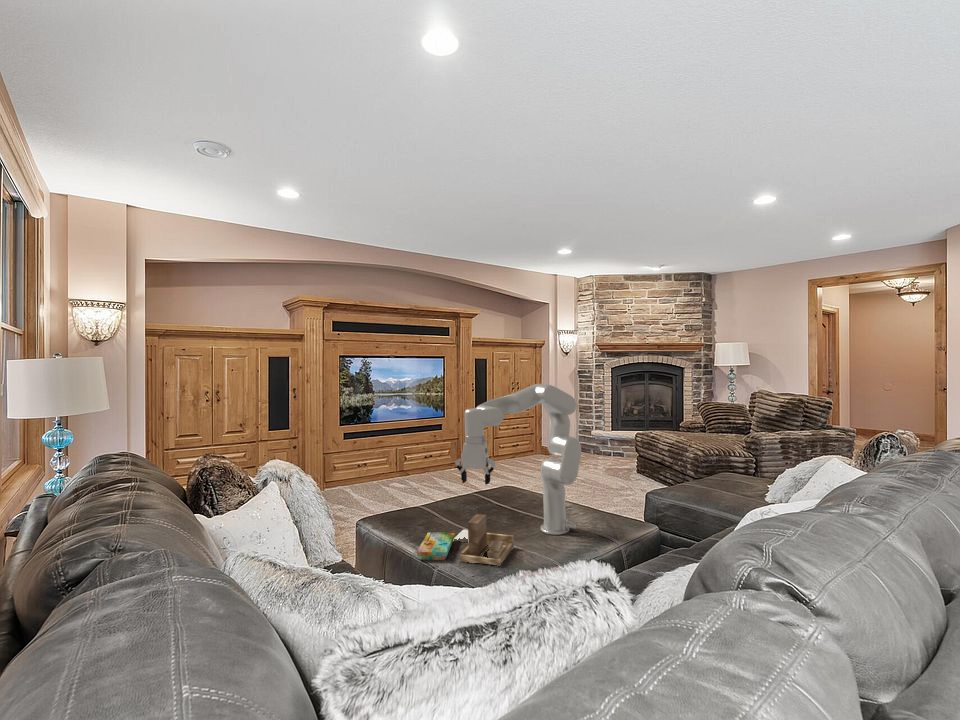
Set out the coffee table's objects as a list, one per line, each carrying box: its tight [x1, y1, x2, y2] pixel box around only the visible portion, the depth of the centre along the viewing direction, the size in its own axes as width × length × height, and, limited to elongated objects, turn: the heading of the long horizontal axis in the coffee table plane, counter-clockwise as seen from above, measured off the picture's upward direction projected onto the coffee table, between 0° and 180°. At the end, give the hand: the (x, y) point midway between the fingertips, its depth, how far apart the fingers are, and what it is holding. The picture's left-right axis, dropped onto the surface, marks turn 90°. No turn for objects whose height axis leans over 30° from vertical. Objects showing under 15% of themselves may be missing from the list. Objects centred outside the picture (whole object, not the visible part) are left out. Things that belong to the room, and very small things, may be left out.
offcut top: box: [488, 541, 502, 553], centre depth 201 cm, size 4×6×2 cm, turn 168°
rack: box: [459, 532, 515, 565], centre depth 203 cm, size 16×18×5 cm
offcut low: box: [486, 545, 506, 558], centre depth 201 cm, size 5×8×3 cm, turn 160°
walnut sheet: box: [467, 513, 488, 556], centre depth 204 cm, size 4×10×14 cm, turn 160°
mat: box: [453, 529, 468, 542], centre depth 221 cm, size 10×13×1 cm
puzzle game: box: [416, 532, 456, 561], centre depth 208 cm, size 12×5×20 cm
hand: (475, 482), depth 203 cm, fingers open, 9 cm apart
